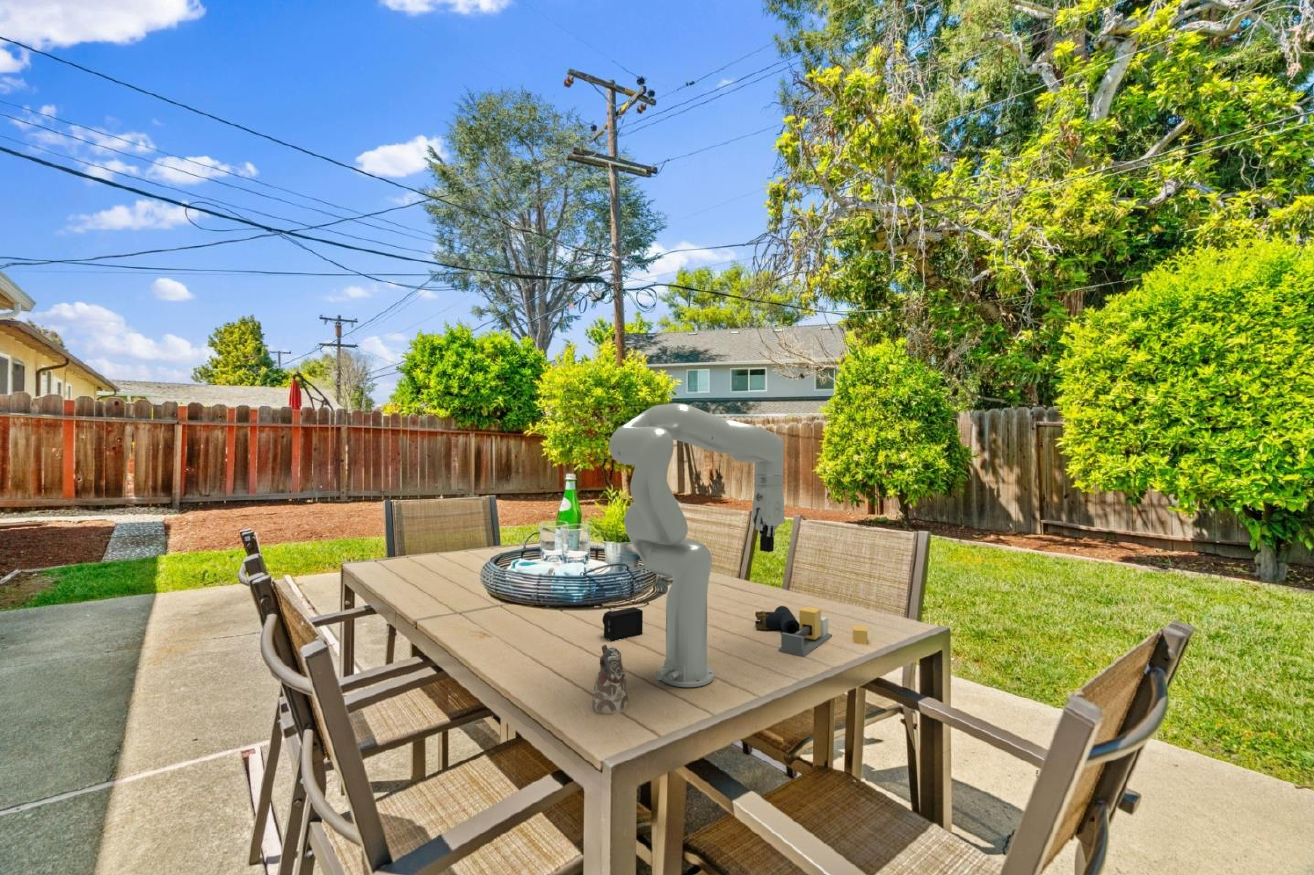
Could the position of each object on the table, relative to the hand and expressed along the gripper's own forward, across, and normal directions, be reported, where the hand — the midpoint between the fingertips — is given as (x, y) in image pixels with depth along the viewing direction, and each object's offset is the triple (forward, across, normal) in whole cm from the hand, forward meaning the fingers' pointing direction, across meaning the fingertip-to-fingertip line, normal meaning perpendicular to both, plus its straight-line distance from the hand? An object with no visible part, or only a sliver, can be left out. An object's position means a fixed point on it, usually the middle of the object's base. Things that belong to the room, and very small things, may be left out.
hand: (766, 551), depth 155 cm
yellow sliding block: (+24, +14, -7) cm, 28 cm away
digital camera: (+27, -15, +36) cm, 48 cm away
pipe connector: (+26, +18, +6) cm, 31 cm away
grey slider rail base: (+25, +11, -7) cm, 28 cm away
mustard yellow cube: (+25, +22, -17) cm, 38 cm away
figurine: (+28, -50, +8) cm, 58 cm away
